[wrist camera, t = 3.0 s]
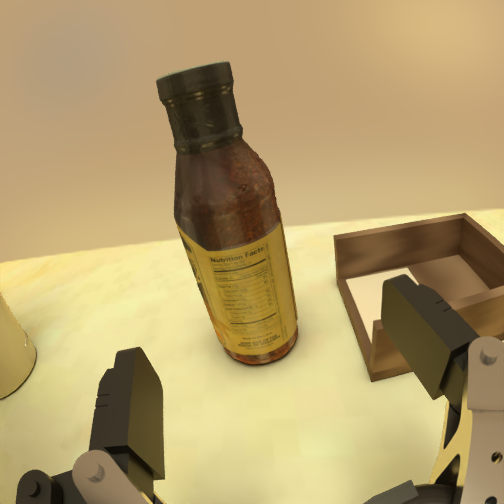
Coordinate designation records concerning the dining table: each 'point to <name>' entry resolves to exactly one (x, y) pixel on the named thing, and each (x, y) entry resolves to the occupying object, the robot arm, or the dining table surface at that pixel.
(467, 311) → the box
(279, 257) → the sauce bottle
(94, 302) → the dining table surface
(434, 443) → the dining table surface
